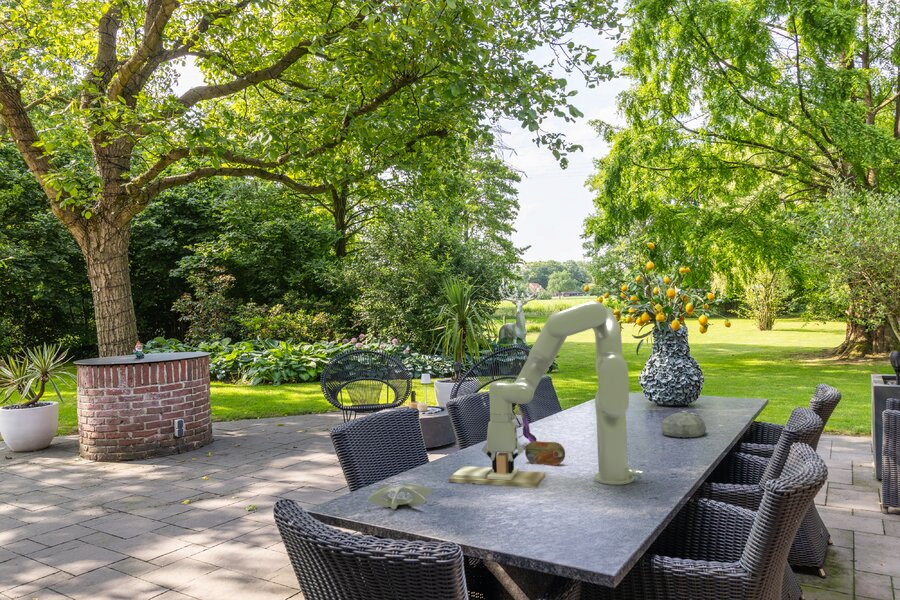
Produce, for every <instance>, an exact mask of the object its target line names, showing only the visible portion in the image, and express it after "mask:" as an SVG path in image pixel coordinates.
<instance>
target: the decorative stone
mask: <svg viewBox="0 0 900 600" xmlns="http://www.w3.org/2000/svg"><path fill="white" fill-rule="evenodd" d="M660 430H661V432H662V433H663V435H665V436H668V437H674V438H680V437H682V438H685V439H686V437H687V439H688V437H689V438H697V437H702V436H703V435H705V433H706V431H707V426H706V424H705V421H704V419H703V418H701V417H700V416H698V415H697V414H696V413H695V412H690V413H689V412H688V411H684V410H683V411H681V412H676V413H672V414H670V415H669V416H666V417H665V418H664V419H663V420H662V422H661V428H660ZM682 438H681V439H682Z"/></svg>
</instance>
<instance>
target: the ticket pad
mask: <svg viewBox="0 0 900 600" xmlns="http://www.w3.org/2000/svg"><path fill="white" fill-rule="evenodd" d="M493 470H494V469H492V467H491V466H489V467H488V466H487V467H485V466H468V465H467V466H466V465H464V466H461V468H459V469H458V470H457V471H456V472H454V473H453V474H452V476H449V478H448V483H449V482H460V483H459V484H463V483H477V484H476V485H480V484H489V485H488V486H498V485H502V486H501V487H515V486H516V487H517V488H518V486H519V488H532V487H534V488H535V489H536V488H538V487H539V485H540V484H541V483H542V481H543V480H544V479H545V477H546V476H545V475H546V472H544V471H530V470H529V471H527V470H518V472H517V473H516V474H515V475H514V477H513V478H512V479H511V480H498V479H487V476H488V475H489V474H490V473H491V472H492V471H493ZM540 482H541V483H540ZM516 487H515V488H516ZM534 488H533V489H534Z"/></svg>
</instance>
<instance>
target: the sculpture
mask: <svg viewBox="0 0 900 600" xmlns="http://www.w3.org/2000/svg"><path fill="white" fill-rule="evenodd" d="M389 493H390V494H391V493H394V496H393V497H392V496H391V495H390V494H389ZM399 493H403V495H402V497H400V498H398V495H399ZM432 493H433V490H432V489H431V488H430V487H428V486H425V485H420V484H416V483H411V482H406V481H405V482H403V485H402V486H395V487H393V484H392V483H390V484H386V485H381V486H379V487H377V488H376V491H375V492H374V493H372V494H370V496H368V497H367V501H368V503H370V504H371V505H375V506H378V507H384V508H388V507H391V508H390V509H392V510H397V509H398V508H397V507H398V506H400V505H407V504H408V507H409V506H411V507H417V506H421V505H424V504H425V503H426V498H427V497H429V496H430V495H432ZM407 494H409V495H410V496H411V498H409V497H408V498H407V497H406V496H407Z"/></svg>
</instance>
